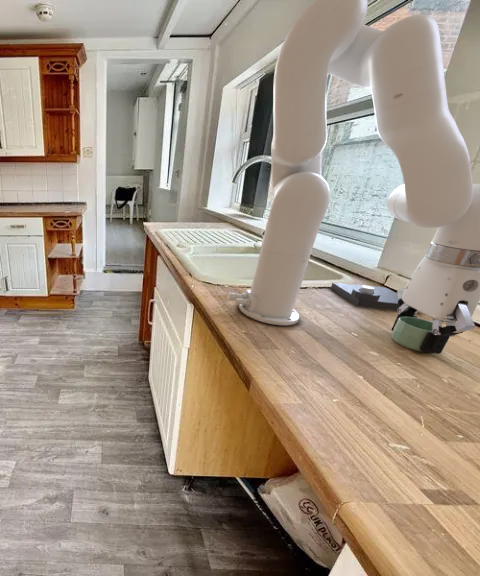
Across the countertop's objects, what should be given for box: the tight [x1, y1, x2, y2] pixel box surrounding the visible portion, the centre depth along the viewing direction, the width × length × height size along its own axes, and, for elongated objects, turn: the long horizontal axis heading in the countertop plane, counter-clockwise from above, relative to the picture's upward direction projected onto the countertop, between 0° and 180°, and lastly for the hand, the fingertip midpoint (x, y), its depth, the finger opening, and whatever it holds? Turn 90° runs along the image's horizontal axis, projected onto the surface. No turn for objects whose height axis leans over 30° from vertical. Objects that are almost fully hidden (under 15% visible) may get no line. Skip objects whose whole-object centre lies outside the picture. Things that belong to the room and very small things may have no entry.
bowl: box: [390, 316, 444, 353], centre depth 61 cm, size 7×7×5 cm
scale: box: [330, 282, 399, 311], centre depth 83 cm, size 14×13×4 cm
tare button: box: [360, 285, 375, 294], centre depth 79 cm, size 3×3×2 cm
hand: (414, 340), depth 62 cm, fingers closed on bowl, 6 cm apart
